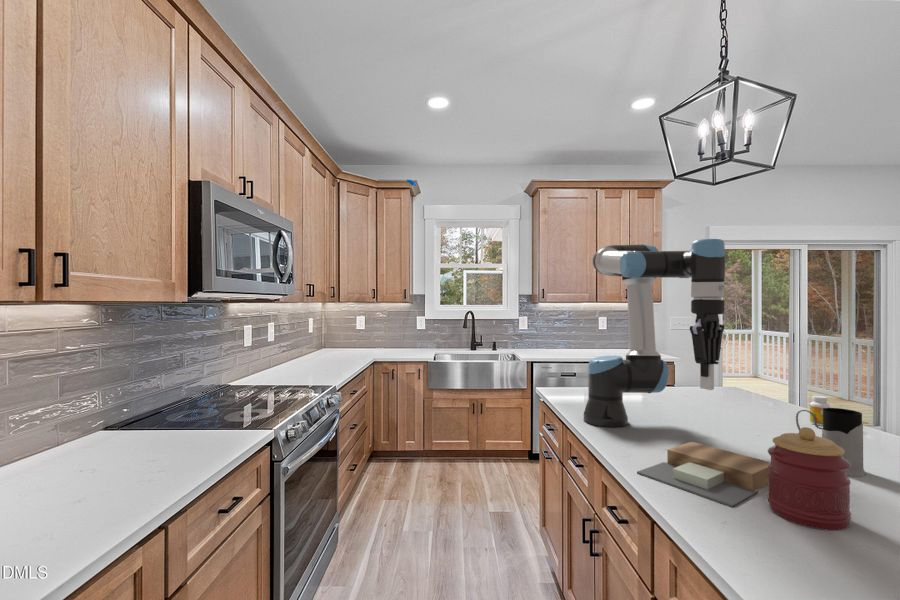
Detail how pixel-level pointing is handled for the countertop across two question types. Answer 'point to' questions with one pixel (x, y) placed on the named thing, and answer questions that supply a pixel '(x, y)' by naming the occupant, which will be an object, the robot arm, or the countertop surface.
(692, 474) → the coaster
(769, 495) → the canister
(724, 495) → the mat
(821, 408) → the supplement bottle
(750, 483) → the plate
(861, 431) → the glass holder
